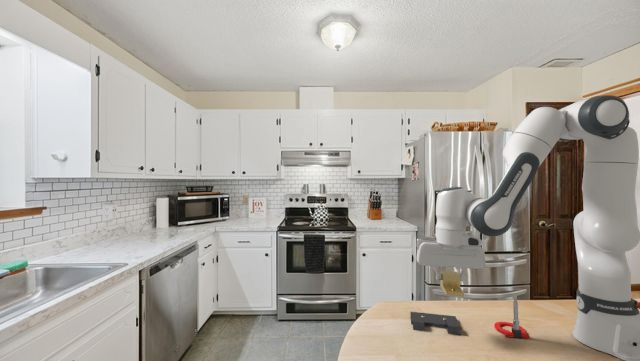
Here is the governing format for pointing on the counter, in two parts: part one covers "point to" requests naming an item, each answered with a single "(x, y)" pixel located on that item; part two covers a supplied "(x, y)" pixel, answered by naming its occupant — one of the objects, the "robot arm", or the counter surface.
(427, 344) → the counter surface
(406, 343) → the counter surface
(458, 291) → the loose leaf
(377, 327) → the counter surface
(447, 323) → the fixed leaf
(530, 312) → the counter surface
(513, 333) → the tow hook
